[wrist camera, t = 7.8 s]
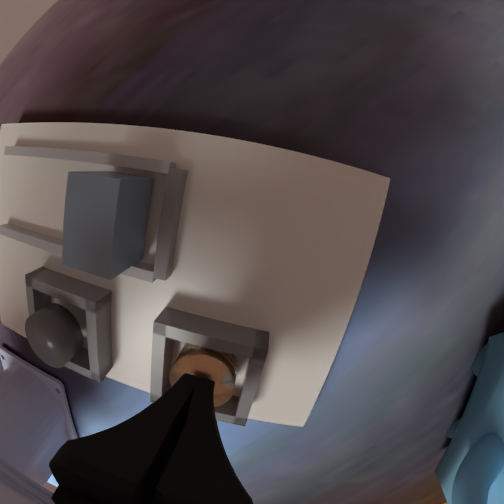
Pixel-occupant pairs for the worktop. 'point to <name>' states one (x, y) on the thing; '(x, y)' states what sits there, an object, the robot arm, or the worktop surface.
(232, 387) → the copper button
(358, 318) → the worktop surface
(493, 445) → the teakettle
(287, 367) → the control panel
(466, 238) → the worktop surface
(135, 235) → the block
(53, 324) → the black button
